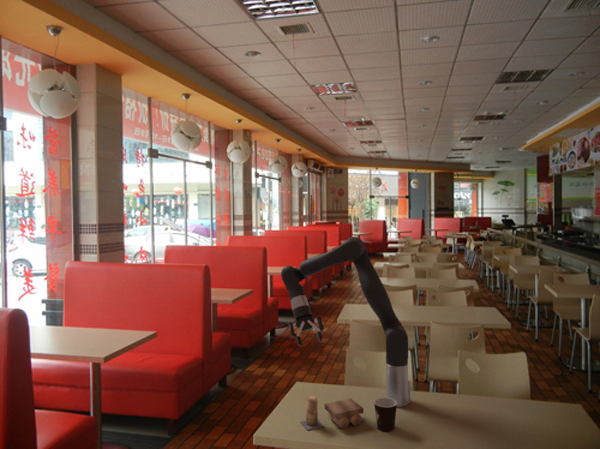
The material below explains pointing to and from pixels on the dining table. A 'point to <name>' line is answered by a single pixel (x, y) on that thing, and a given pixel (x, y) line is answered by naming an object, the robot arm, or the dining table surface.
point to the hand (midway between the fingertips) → (310, 343)
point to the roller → (311, 411)
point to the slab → (344, 412)
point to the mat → (312, 426)
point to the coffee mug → (385, 413)
